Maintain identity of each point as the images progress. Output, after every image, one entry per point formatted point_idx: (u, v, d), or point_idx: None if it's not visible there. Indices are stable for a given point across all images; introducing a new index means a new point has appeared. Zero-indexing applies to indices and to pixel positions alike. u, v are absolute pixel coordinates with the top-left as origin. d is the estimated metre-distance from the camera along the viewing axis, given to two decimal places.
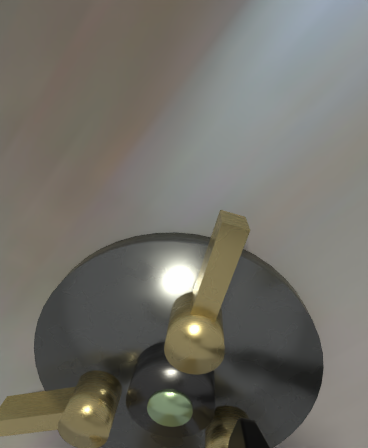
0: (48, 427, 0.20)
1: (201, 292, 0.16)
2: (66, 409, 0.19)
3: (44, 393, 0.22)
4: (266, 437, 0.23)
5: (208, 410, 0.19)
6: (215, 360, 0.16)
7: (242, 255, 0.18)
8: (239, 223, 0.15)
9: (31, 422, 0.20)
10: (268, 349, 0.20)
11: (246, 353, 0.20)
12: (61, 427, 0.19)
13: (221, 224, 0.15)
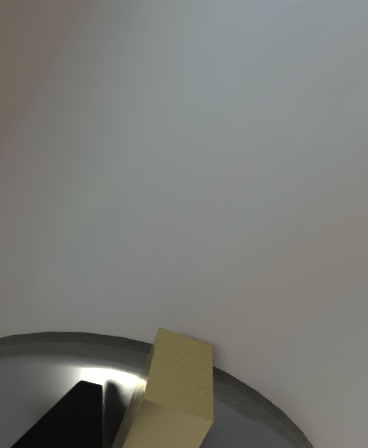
0: None
1: None
2: None
3: None
4: None
5: None
6: None
7: None
8: (193, 384, 0.06)
9: None
10: None
11: None
12: None
13: (142, 401, 0.06)
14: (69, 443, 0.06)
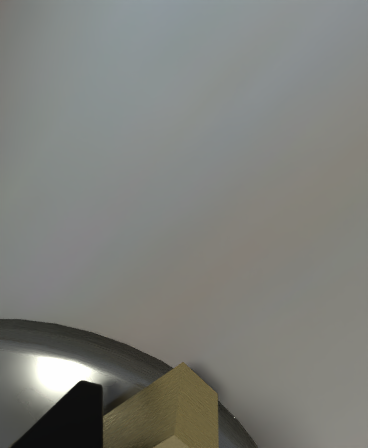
0: None
1: None
2: None
3: None
4: None
5: None
6: None
7: (125, 372, 0.10)
8: (206, 431, 0.07)
9: None
10: None
11: None
12: None
13: (170, 435, 0.06)
14: (69, 443, 0.06)
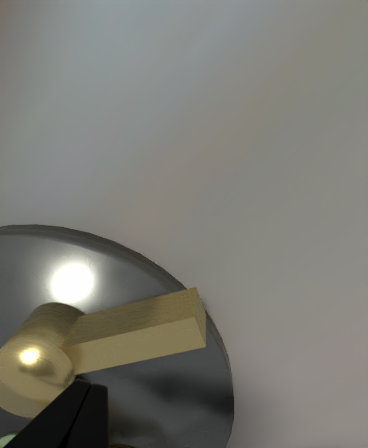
0: None
1: (97, 343, 0.12)
2: None
3: None
4: None
5: None
6: (33, 411, 0.12)
7: (113, 254, 0.14)
8: (202, 326, 0.12)
9: None
10: (162, 375, 0.16)
11: (135, 380, 0.16)
12: None
13: (191, 317, 0.11)
14: (76, 445, 0.06)
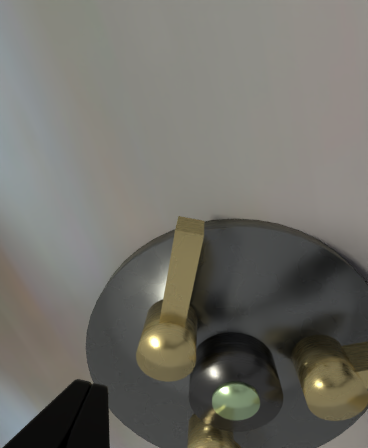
0: None
1: (166, 299, 0.16)
2: None
3: None
4: None
5: (260, 374, 0.18)
6: (187, 366, 0.16)
7: (138, 254, 0.19)
8: (195, 228, 0.15)
9: None
10: (249, 279, 0.18)
11: (243, 300, 0.19)
12: None
13: (175, 232, 0.15)
14: (76, 445, 0.06)
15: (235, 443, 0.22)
